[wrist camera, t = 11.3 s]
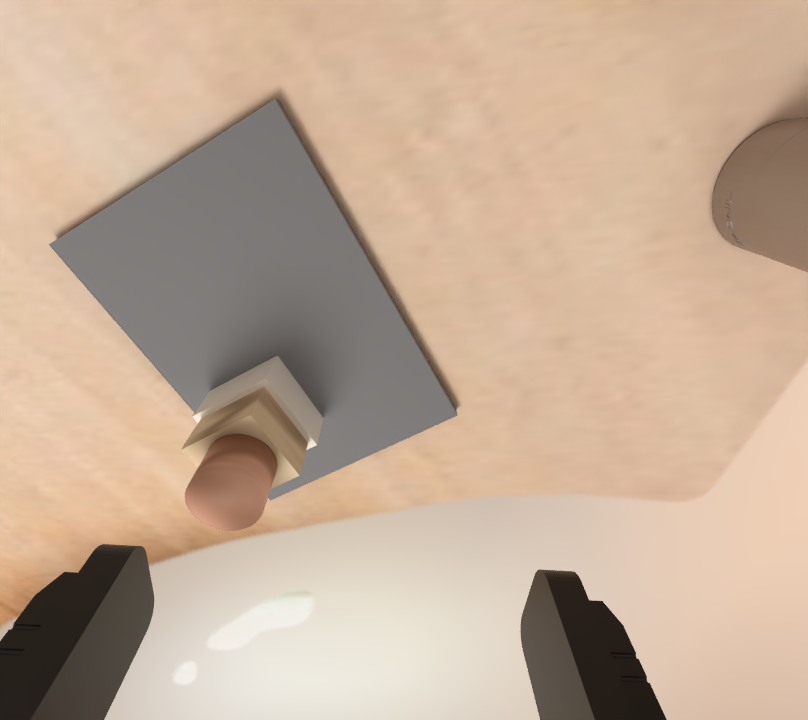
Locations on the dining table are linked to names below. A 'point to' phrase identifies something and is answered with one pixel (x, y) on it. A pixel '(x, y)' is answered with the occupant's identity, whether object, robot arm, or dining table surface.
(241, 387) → the tower base block
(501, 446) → the dining table surface
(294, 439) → the tower top block
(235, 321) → the mat
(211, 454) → the terracotta cylinder
